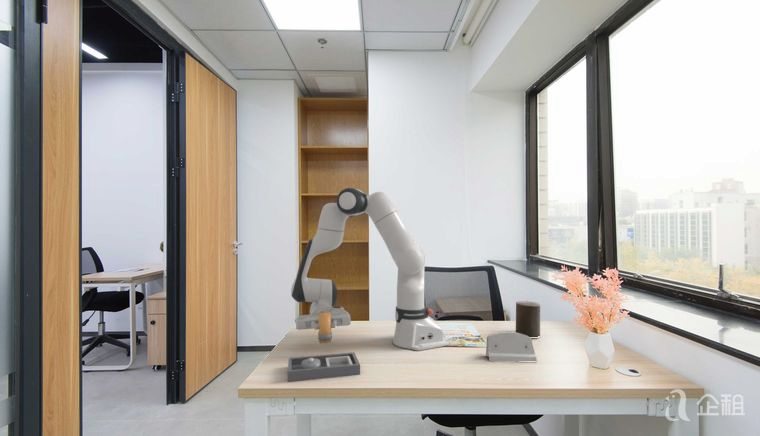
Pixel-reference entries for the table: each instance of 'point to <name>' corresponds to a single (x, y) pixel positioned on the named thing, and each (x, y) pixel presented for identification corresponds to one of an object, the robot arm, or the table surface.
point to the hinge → (510, 347)
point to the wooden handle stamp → (324, 327)
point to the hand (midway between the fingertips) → (325, 326)
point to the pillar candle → (528, 318)
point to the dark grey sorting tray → (323, 366)
